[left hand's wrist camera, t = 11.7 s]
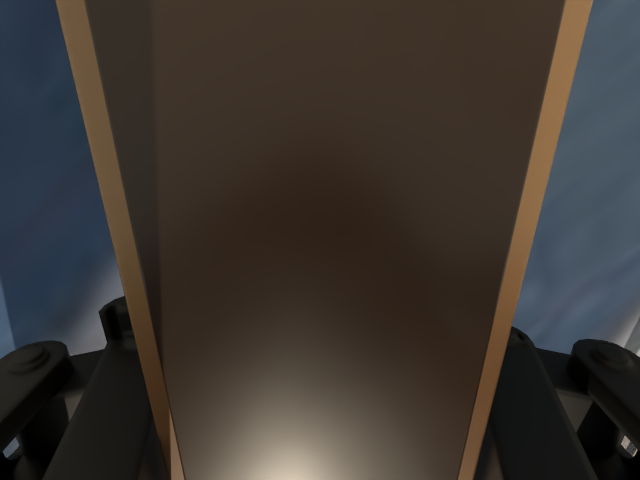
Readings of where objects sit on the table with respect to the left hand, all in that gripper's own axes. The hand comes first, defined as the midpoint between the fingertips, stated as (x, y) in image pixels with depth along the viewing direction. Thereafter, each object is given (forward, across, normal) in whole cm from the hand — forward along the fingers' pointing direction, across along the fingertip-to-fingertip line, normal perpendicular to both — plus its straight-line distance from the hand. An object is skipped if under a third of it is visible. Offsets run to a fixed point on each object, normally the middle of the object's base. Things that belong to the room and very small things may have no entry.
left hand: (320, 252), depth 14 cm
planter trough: (0, 0, -10) cm, 10 cm away
